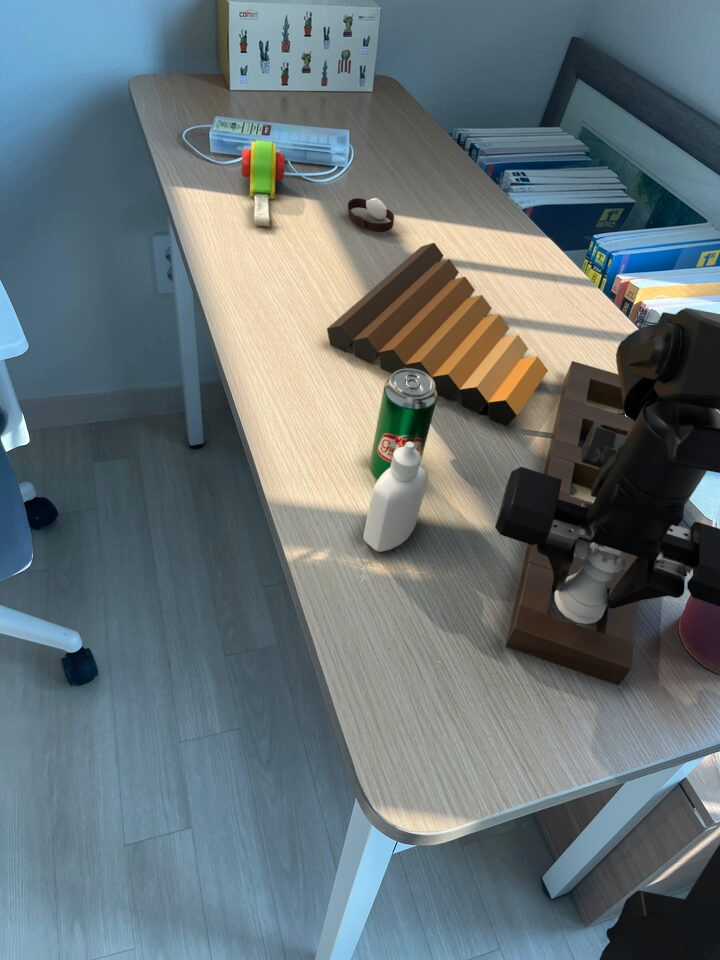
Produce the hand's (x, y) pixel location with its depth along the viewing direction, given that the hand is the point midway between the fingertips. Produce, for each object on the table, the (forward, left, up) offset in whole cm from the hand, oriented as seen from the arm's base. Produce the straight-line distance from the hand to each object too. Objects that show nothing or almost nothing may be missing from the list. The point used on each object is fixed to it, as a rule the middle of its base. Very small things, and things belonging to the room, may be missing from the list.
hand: (583, 595), depth 65 cm
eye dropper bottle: (+3, +18, -4) cm, 19 cm away
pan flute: (+38, +19, -4) cm, 43 cm away
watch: (+59, +38, -4) cm, 70 cm away
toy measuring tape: (+59, +55, -4) cm, 80 cm away
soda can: (+11, +20, -4) cm, 23 cm away
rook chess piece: (0, 0, -2) cm, 2 cm away
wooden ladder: (+15, 0, -4) cm, 16 cm away
